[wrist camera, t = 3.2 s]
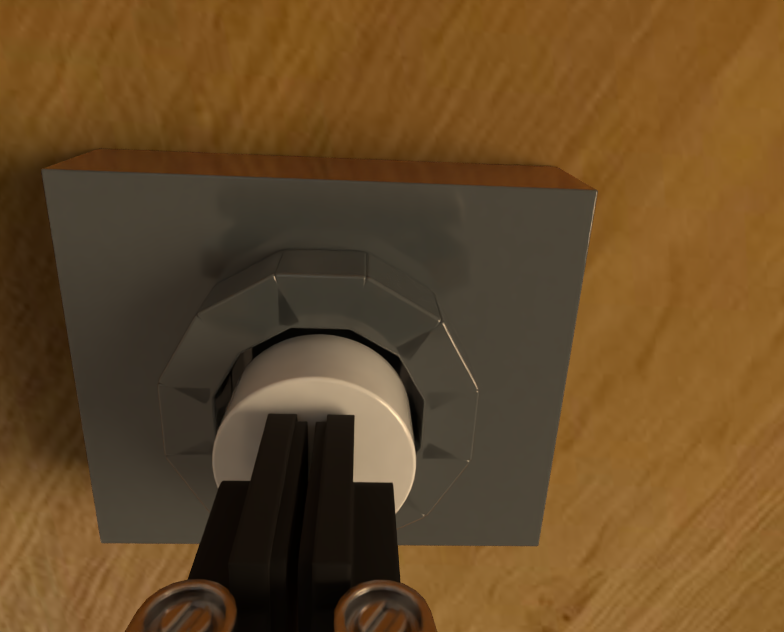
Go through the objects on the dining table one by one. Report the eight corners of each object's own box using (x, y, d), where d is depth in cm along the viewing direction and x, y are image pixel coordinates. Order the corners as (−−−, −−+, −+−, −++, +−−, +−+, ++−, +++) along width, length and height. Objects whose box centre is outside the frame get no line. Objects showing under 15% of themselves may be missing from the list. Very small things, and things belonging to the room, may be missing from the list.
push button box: (98, 147, 16) (-7, 184, 12) (558, 166, 17) (630, 208, 12) (138, 472, 20) (72, 596, 16) (514, 477, 21) (556, 597, 16)
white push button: (226, 330, 14) (204, 375, 12) (414, 335, 14) (423, 380, 12) (235, 485, 15) (217, 548, 13) (404, 487, 15) (411, 549, 13)
